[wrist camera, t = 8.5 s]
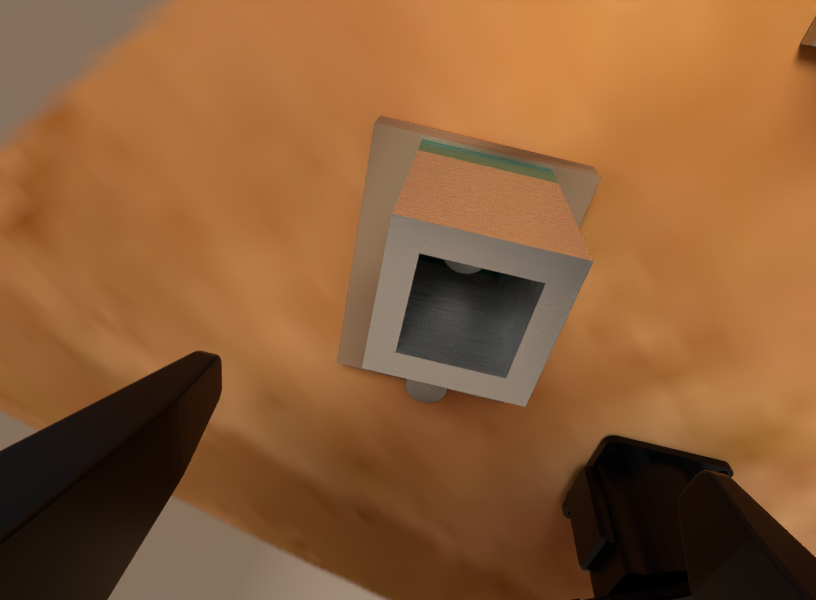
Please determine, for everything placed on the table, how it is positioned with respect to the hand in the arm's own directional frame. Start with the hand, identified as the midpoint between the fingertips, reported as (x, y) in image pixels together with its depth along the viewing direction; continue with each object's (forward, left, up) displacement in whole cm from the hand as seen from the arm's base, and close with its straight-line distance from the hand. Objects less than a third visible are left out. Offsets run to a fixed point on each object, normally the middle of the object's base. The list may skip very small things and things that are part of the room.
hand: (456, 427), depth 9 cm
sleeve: (0, 0, -11) cm, 11 cm away
